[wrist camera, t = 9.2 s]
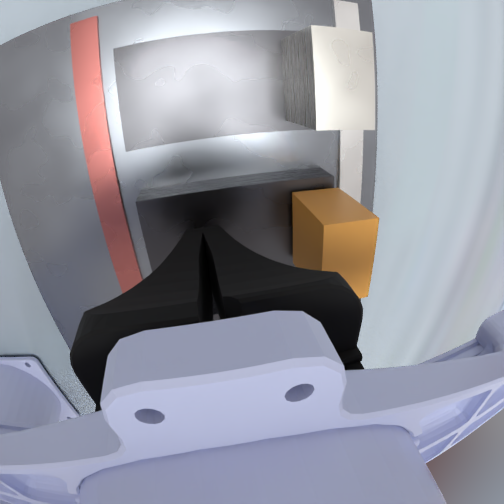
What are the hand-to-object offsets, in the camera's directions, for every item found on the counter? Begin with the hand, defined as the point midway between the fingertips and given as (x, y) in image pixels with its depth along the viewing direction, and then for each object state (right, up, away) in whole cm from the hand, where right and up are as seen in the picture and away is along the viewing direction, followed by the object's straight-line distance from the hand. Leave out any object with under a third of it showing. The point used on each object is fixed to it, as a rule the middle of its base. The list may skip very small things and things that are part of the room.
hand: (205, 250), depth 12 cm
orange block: (+4, +1, +1) cm, 5 cm away
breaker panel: (-1, 0, +4) cm, 4 cm away
